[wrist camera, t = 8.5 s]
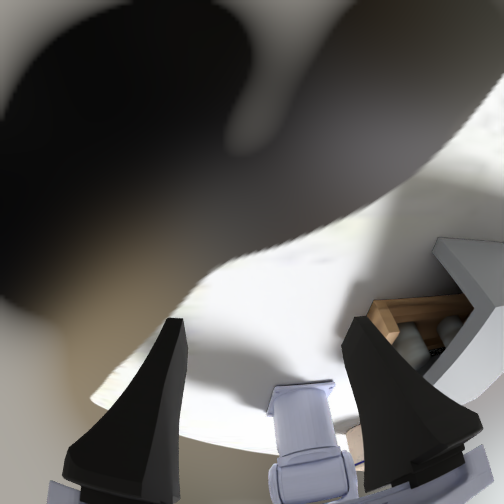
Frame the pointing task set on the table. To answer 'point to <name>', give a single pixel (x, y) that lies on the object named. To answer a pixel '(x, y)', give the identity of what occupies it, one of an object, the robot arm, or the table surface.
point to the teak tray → (420, 323)
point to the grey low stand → (472, 320)
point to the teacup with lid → (356, 446)
